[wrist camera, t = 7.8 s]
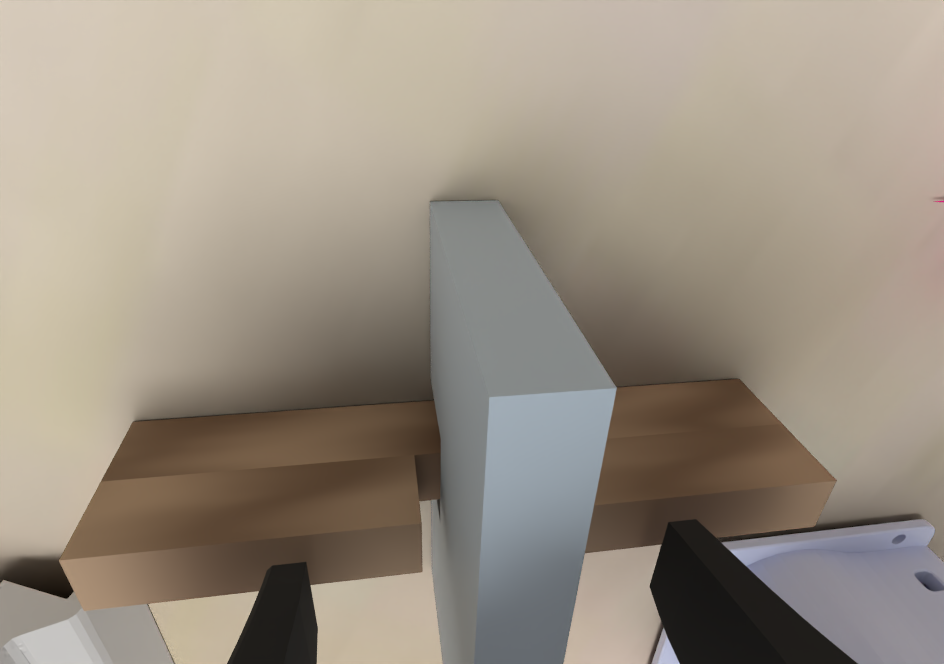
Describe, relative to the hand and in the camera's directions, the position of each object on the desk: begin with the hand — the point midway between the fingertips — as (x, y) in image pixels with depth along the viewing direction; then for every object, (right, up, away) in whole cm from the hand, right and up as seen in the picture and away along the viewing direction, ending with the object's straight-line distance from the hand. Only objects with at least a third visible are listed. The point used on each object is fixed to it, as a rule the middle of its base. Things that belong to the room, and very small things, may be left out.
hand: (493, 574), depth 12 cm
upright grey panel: (-1, +2, +4) cm, 5 cm away
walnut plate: (-1, +2, +4) cm, 5 cm away
